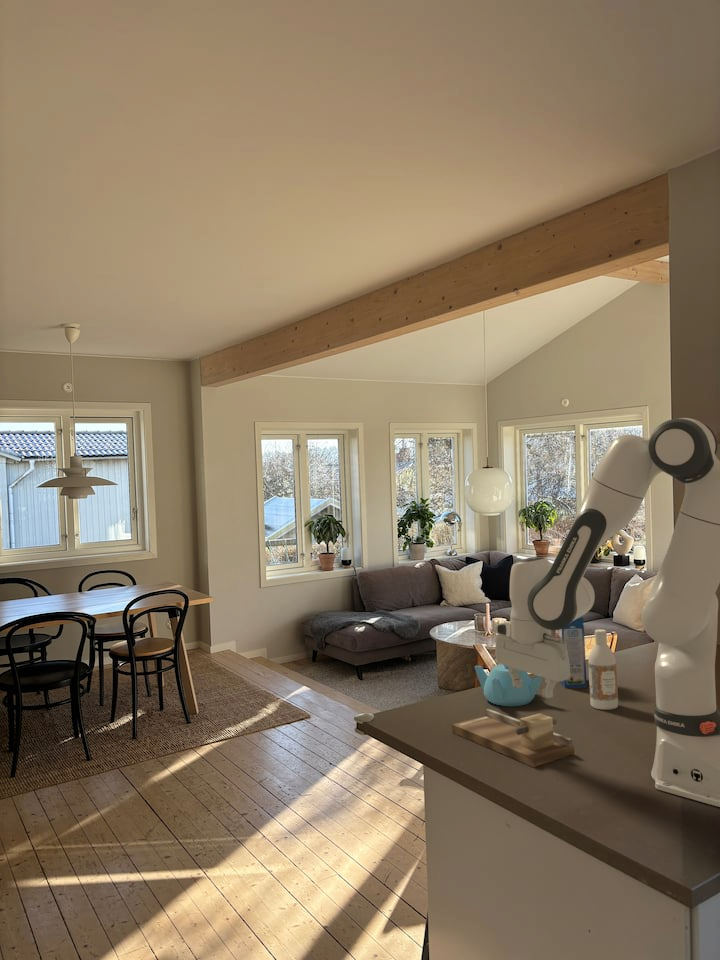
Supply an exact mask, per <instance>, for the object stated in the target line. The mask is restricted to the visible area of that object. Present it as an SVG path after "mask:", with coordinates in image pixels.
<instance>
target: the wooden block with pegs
mask: <svg viewBox="0 0 720 960" xmlns="http://www.w3.org/2000/svg"><path fill="white" fill-rule="evenodd" d="M519 720H520V728H516V733H517V735H520V734H521V746H523V747H526V748H528V749H531V750H533V751H535V750H538V749H541V748H544V747H548V746H551V745H554V737H553V732H554V725H557V723H558V721H557V719H556V717H551V716H549V715H547V714H546V715H545V714H543V713H541V712H540V713H536V714H532V715H529V716H525V717H524V716H523V717H521V718H519Z"/></svg>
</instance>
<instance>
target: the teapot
mask: <svg viewBox="0 0 720 960" xmlns="http://www.w3.org/2000/svg"><path fill="white" fill-rule="evenodd" d="M474 670H475V673H476V676H477V678H478V681H479V684H480V687H481V690H482V691H483V696H484V697H485V698H486V700H487V701H488V702H491V703H490V704H492V703H493V704H492V705H495V704H496V706H499V705H501V706H500V707H521V706H525V705H528V704H529V703H531V702H532V701H533V700H534V698H535V696H536V694H537V693H538V690H539V688H540V685H541V682H542V680H543V677H541V676H537V675H534V676H535V677H534V678H533V679H532V678H531V676H530V675H529V673H528V672H525V671H522V670H518V673H519V676H520V679H523V682H522V684H523V686H522V687H519V688H517V687H514V686H513V683H512V678H511V675H510V673H509V671H508V666H506V665H503V664H497V665H494V666H493V667H492V669H491V670H490V671H489V673H488V674H487V673H486V671H485V670H484V668H483V667H482V665H475V666H474Z"/></svg>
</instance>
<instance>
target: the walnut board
mask: <svg viewBox="0 0 720 960" xmlns="http://www.w3.org/2000/svg"><path fill="white" fill-rule="evenodd" d="M451 725H452V733H453V734H455V735H457V736H460V737H462V738H464V739H467V740H469V741H472V742H473V741H474V743H476V744H478V745H480V744H481V745H480V746H483V747H485V748H487V747H488V749H490V750H493V751H494V750H495V751H494V752H497V753H500V754H501V753H502V755H503V756H507V757H508V756H509V758H510V759H513V758H514V759H513V760H515V759H516V760H515V761H518V762H520V763H522V762H523V763H522V764H525V765H527V766H529V765H530V767H532V768H537V767H539V765H540V766H542V764H543V765H545V763H546V764H549V763H552V762H555V761H558V760H561V759H564V758H563V757H565V758H567V757H566V756H568V757H570V756H569V755H571V756H574V755H575V745H574V744H573V739H572V738H570V737H567V736H565V735H562V734H559V733H557V732H554V731H553V737H554V745H551V746H548V747H544V748H541V749H538V750H535V751H533V750H531V749H528V748H526V747H523V746H521V734H520V735H517V733H516V728H520V719H518V718H514V717H513V716H509V715H507V714H503V713H500V712H498V711H496V710H493V709H490V708H487V709H485V715H482V716H479V717H474V718H472V719H468V720H464V721H461V722H457V723H453V724H451ZM573 754H574V755H573ZM557 759H558V760H557ZM554 760H555V761H554ZM551 761H552V762H551ZM548 762H549V763H548ZM536 766H537V767H536Z"/></svg>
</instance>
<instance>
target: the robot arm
mask: <svg viewBox="0 0 720 960" xmlns="http://www.w3.org/2000/svg"><path fill="white" fill-rule="evenodd" d="M717 450H718V440H717V437H716V435H715V433H714V432H713V430H712V429H711V428H710V427H709V426H708V425H707V424H705V423H704V422H701V421H699V420H698V419H694V418H690V417H679V418H673V419H669V420H665V421H664V422H662V423H660V424H659V425H658V426H657V427H656V428H655V429H654V430H653V432H652V433H651V435H650V437H649V438H646V437H642V436H639V435H635V434H621V435H620V436H617V437H616V438H614V439H613V441H612V442H611V443H610V444H609V446H608V448H607V449H606V450H605V452H604V454H602V456H601V458H600V460H599V463H598V464H597V466H596V468H595V470H594V472H593V475H592V476H591V478H590V480H589V483H588V485H587V488H586V491H585V493H584V495H583V499H582V502H581V504H580V506H579V509H578V511H577V512H576V513H577V514H576V516H575V519H574V521H573V524H572V526H571V527H570V530H569V531H568V533H567V535H566V537H565V539H564V541H563V543H562V545H561V547H560V549H559V552H558V553H557V554H556V557H555V559H554V561H553V563H552V562H550V560H548V559H547V558H546V557H543V556H533V557H526V558H521V559H519V560H517V561H515V562H513V564H512V565H511V569H510V575H509V601H510V602H511V603H510V604H511V611H510V614H509V617H510V619H509V620H507V621H504V622H500V623H497V624H495V625H494V631H495V633H496V636H495V638H494V639H495V642H494V643H495V645H494V647H495V648H494V649H495V650H494V651H495V653H494V654H495V659H496V660H497V663H498V665H501V664H503V665H506V666H508V671H509V673H510V675H511V678H512V683H513V686H514V687H517V688H519V687H522V686H523V684H522V682H523V679H520V676H519V673H518V670H522V671H525V672H527V673H528V674H532V675H534V676H536V675H537V676H541V677H542V678H544V682H545V683H546V684H545V685H546V686H545V688H542V689H541V695H542V697H543V698H546V699H551V698H553V696H554V688H555V687H556V685H557V683H558V682H559V683H560V681H564V680H567V679H568V678H569V677H570V663H569V657H568V652H567V646H566V644H565V643H564V641H563V640H562V639H561V638H560V637H557V636H555V635H552V631H555V630H560V629H563V628H565V627H566V626H568V625H569V624H570V623H571V622H572V621H574V620H576V619H578V618H579V617H581V616H582V617H583V616H584V615H586V614H587V613H588V612H590V611H591V610H592V608H593V606H594V604H595V601H596V592H595V589H594V586H593V585H592V583H591V582H590V581H589V579H587V578H586V577H585V574H586V572H587V569H588V568H589V566H590V564H591V562H592V559H593V558H594V556H595V554H596V553H597V552H598V550H599V549H600V548H601V546H602V545H604V543H605V542H606V541H608V540H609V539H611V538H612V537H613V536H614V535H616V534H617V533H619V532H621V531H622V530H623V529H625V528H626V527H627V526H628V525H629V524H630V523H631V521H632V519H634V517H635V515H636V514H637V512H638V511H639V510H640V507H641V505H642V503H643V502H644V499H645V497H646V495H647V493H648V490H649V488H650V486H651V484H652V482H653V481H654V479H655V478H656V477H657V476H658V475H659V474H661V473H663V472H664V473H665V474H667V475H669V476H670V477H673V478H674V479H676V480H677V481H679V482H681V483H683V484H684V485H685V486H684V487H685V489H684V496H683V499H682V503H681V506H680V509H679V513H678V515H677V520H676V523H675V525H674V528H673V531H672V532H673V533H672V535H671V540H670V542H669V545H668V548H667V551H666V554H665V555H664V557H663V559H662V562H661V565H660V567H659V569H658V571H657V574H656V576H655V578H654V581H653V583H652V586H651V587H650V588H651V589H650V591H649V594H648V595H647V596H648V597H646V601H645V603H644V605H643V608H642V611H641V614H640V615H641V616H640V617H641V618H640V619H641V624H642V625H641V626H642V627H643V629H644V631H645V633H646V634H647V635H648V636H649V637H650V638H651V639H652V640H653V641H655V642H656V643H658V647H657V654H656V660H655V664H654V680H655V682H654V683H655V685H654V686H655V704H654V706H653V709H654V711H653V712H654V714H653V717H654V724H655V726H656V740H655V741H656V743H655V753H654V760H653V765H652V769H651V772H650V775H651V778H652V779H653V780H654V782H655V783H654V787H655V789H657V790H659V791H662V792H666V793H669V794H673V795H675V796H679V797H683V798H687V799H691V800H693V801H697V802H701V803H705V804H707V805H710V806H711V805H712V806H715V807H719V808H720V711H719V709H718V708H717V694H716V668H715V667H716V665H715V664H716V656H717V643H718V642H717V641H718V624H719V623H718V619H719V618H718V617H719V616H718V615H719V614H718V613H719V600H718V597H717V596H718V595H717V594H716V592H717V591H718V587H719V586H720V459H718V457H717Z"/></svg>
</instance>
